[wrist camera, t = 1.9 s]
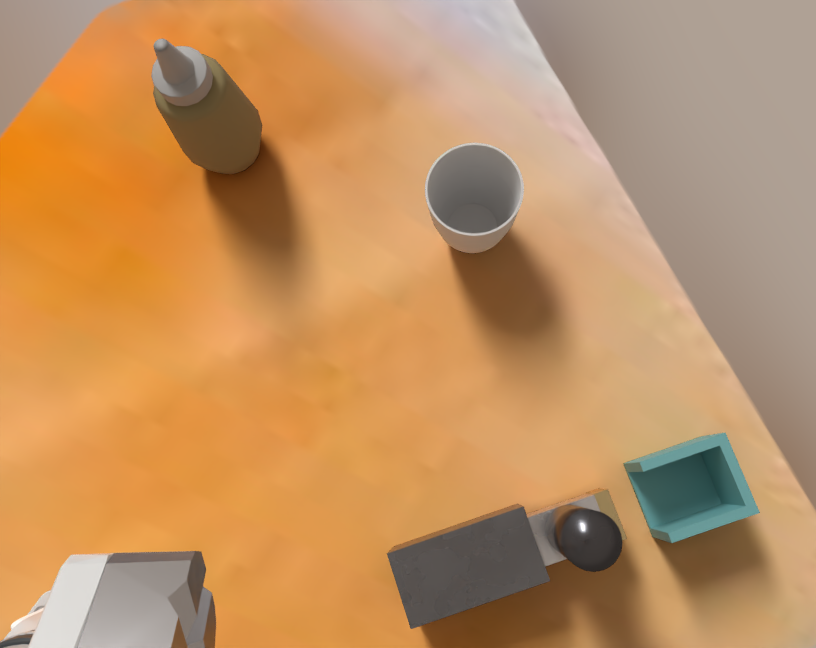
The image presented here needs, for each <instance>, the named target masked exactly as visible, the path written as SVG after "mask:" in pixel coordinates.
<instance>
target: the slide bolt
mask: <svg viewBox="0 0 816 648" xmlns="http://www.w3.org/2000/svg"><path fill="white" fill-rule="evenodd" d="M526 515H527V518H528V521H529V523H530V526H531V529H532V532H533V534H534V537H535V540H536V543H537V545H538V548H539V551H540V554H541V557H542V559H543V562H544V565H545V566H548V565H551V564H554V563H557V562H559V561H562V560H565V559H568V560H569V561H571V562H572V563H573V564H574V565H576V566H577V567H579V568H581V569H583V570H586V571H592V572H596V571H602V570H604V569H607V568H609V567H610V566H611V565H613V564H614V563H615V562H616V560H617V559H618V557H619V555H620V553H621V549H622V540H625V539H627V537H626V535H625V532H624V530H623V527H622V524H621V522H620V519H619V517H618V514H617V512H616V509H615V506H614V504H613V501H612V499H611V496H610V494H609V491H608V489H600V488H598V489H595V490H593V491H590V492H587V493H586V494H583V495H580V496H577V497H574V498H571V499H569V500H566V501H563V502H560V503H557V504H554V505H551V506H548V507H545V508H543V509H540V510H537V511H534V512H531V513H528V514H526Z"/></svg>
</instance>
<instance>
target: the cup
mask: <svg viewBox="0 0 816 648" xmlns="http://www.w3.org/2000/svg"><path fill="white" fill-rule="evenodd" d="M523 193H524V184H523V179H522V175H521V172H520V170H519V168H518V166H517V165H516V163H515V162H514V161H513V160H512V158H511V157H510V156H509V155H507V154H506V153H505V152H503V151H502V150H500V149H498V148H496V147H494V146H491V145H488V144H483V143H467V144H462V145H458V146H456V147H453V148H451V149H449V150H448V151H446V152H445V153H443V154H442V155H441V156H440V157H439V158H438V159H437V160H436V161H435V162H434V164H433V165H432V167H431V168H430V170H429V173H428V175H427V178H426V183H425V196H426V201H427V204H428V208H429V211H430V215H431V218H432V221H433V224H434V226H435V227H436V229H437V230H438V232H439V233H440V235H441V236H442V237H443V239H444V240H445V241H446V242H447V243H448V244H449V245H450V246H451V247H453V248H454V249H456V250H459V251H462V252H466V253H479V252H483V251H486V250H488V249H490V248H492V247H494V246H495V245H496V244H497V243H498V242H499V241H500V240H501V239H502V238H503V237H504V236H505V234H506V233H507V232H508V231H509V229H510V228H511V226H512V225H513V222H514V220H515V218H516V215H517V213H518V210H519V208H520V205H521V203H522V199H523Z"/></svg>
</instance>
